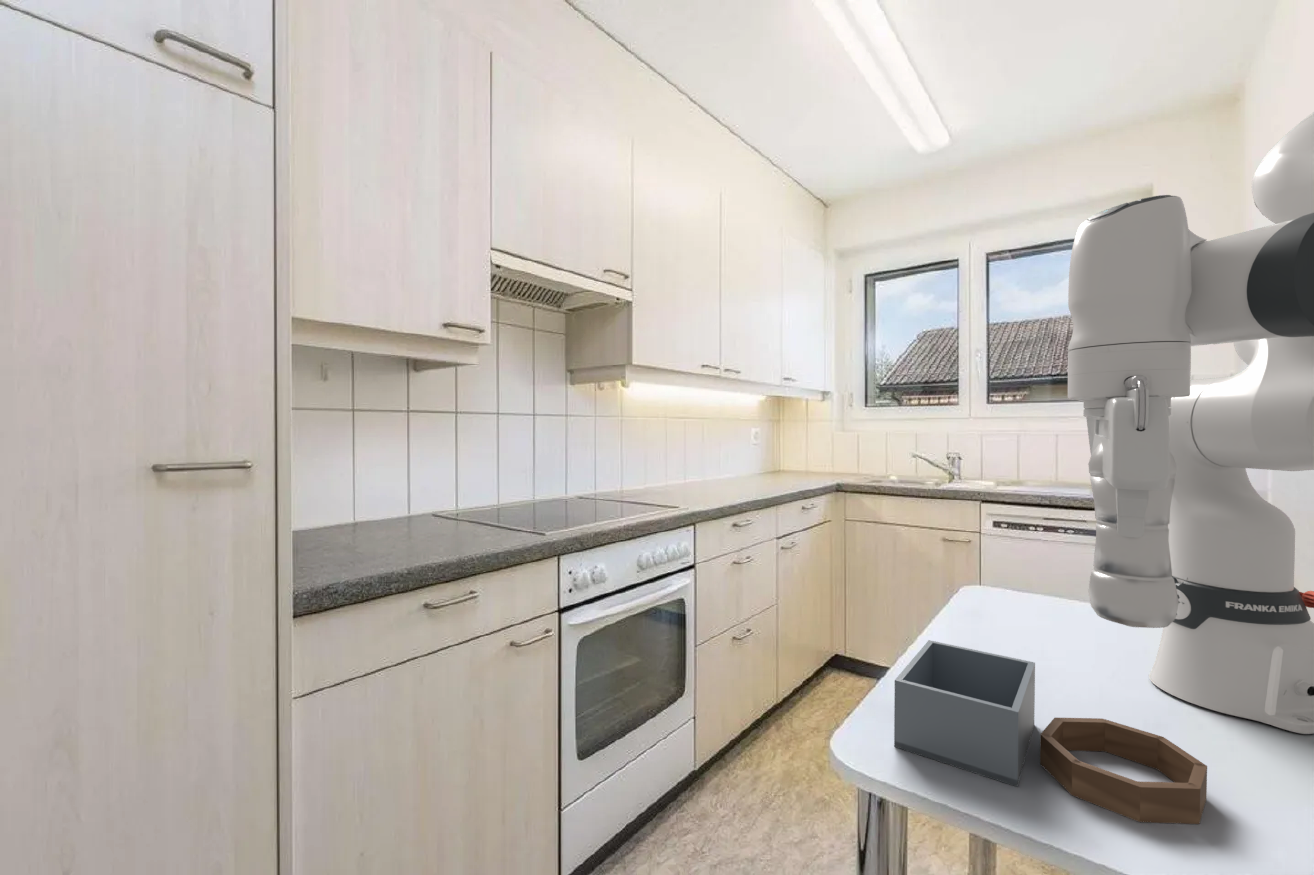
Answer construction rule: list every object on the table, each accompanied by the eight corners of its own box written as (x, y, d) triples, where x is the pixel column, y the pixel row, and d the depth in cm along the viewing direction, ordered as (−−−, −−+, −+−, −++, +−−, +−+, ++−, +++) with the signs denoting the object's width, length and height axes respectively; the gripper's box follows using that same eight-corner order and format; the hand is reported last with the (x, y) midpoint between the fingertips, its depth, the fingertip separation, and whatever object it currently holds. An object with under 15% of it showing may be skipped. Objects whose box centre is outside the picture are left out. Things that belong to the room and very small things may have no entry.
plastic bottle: (1097, 630, 52) (1096, 406, 52) (1081, 610, 58) (1080, 409, 58) (1191, 641, 49) (1190, 404, 49) (1164, 619, 55) (1163, 408, 56)
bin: (928, 696, 72) (928, 640, 72) (1034, 724, 65) (1035, 662, 65) (894, 746, 61) (894, 680, 61) (1017, 786, 54) (1018, 712, 54)
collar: (1136, 747, 61) (1137, 719, 60) (1242, 825, 49) (1243, 789, 49) (1020, 745, 61) (1020, 716, 61) (1097, 820, 50) (1098, 785, 49)
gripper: (1197, 370, 44) (1194, 555, 44) (1152, 383, 61) (1151, 516, 61) (1091, 375, 47) (1090, 546, 47) (1077, 385, 64) (1076, 511, 65)
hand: (1124, 529), depth 54 cm, fingers closed on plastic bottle, 6 cm apart
